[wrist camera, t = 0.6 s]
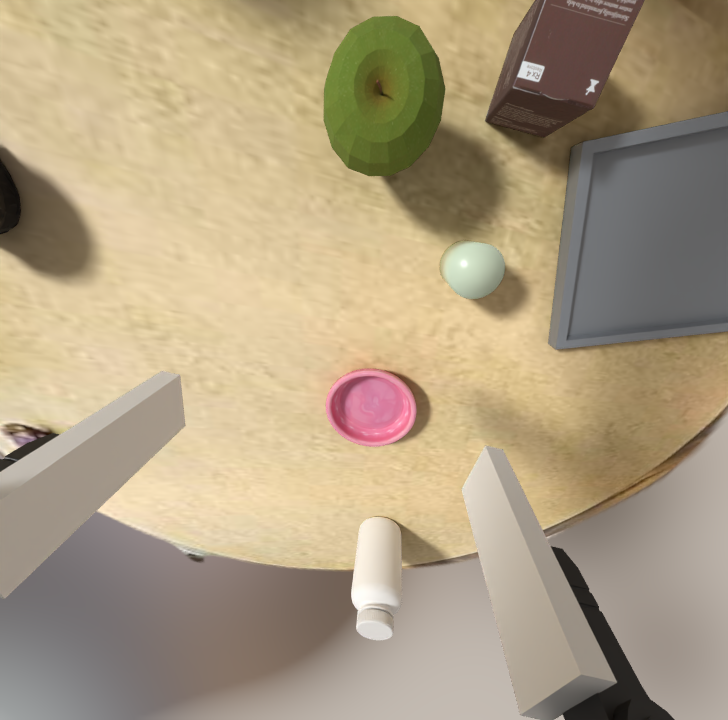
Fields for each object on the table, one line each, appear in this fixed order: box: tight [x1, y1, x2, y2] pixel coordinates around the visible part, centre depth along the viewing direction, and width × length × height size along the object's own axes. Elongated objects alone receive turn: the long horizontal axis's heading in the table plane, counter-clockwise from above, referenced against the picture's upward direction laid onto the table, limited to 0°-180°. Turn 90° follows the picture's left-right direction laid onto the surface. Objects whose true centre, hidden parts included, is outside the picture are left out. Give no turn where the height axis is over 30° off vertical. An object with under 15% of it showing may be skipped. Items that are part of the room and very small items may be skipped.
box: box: [485, 0, 644, 137], centre depth 21 cm, size 6×6×7 cm
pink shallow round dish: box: [326, 369, 417, 447], centre depth 39 cm, size 12×12×3 cm
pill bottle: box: [351, 517, 402, 640], centre depth 46 cm, size 8×8×15 cm
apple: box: [324, 16, 445, 176], centre depth 22 cm, size 9×8×12 cm
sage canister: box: [440, 240, 505, 299], centre depth 29 cm, size 5×5×6 cm
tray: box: [548, 111, 728, 350], centre depth 28 cm, size 20×20×2 cm
